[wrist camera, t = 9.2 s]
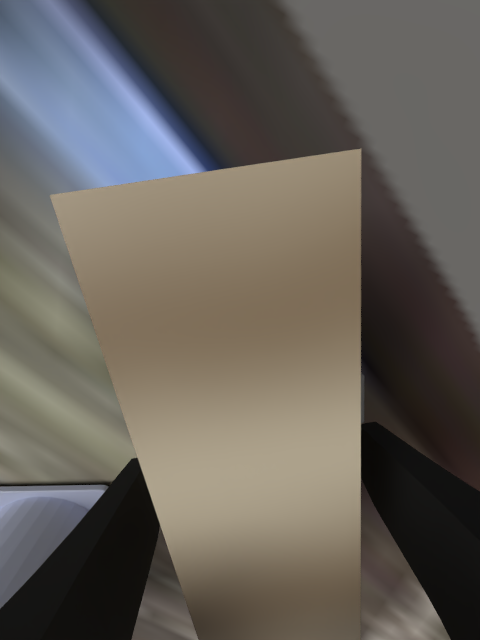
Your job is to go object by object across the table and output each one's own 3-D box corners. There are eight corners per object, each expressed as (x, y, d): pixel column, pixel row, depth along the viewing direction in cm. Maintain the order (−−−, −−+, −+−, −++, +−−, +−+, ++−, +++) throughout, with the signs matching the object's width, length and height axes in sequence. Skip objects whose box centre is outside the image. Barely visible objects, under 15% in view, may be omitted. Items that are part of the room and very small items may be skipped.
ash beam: (302, 536, 13) (360, 760, 7) (237, 546, 13) (245, 778, 7) (271, 213, 8) (361, 148, 3) (170, 228, 8) (50, 194, 3)
